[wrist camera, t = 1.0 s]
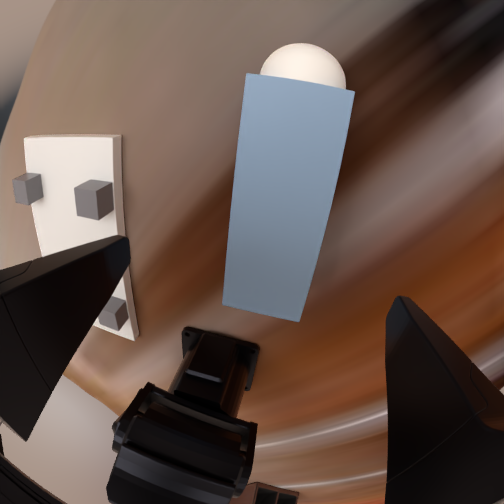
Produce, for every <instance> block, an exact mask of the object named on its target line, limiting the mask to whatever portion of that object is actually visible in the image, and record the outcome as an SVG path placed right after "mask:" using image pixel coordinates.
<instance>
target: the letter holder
mask: <svg viewBox="0 0 504 504" xmlns="http://www.w3.org/2000/svg"><path fill="white" fill-rule="evenodd" d="M298 496H299V492H295V491H290V490H286V489H282V488H278V487H274V486H271V485H267V484H263V483H260V482H256V483H252V484H248V485H246V487H245V489H244V491H243V492H242V494H241V495H240V496H239V497H238V498H233V497H232V498H231V501H230V503H229V504H297V501H298Z"/></svg>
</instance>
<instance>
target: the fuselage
mask: <svg viewBox="0 0 504 504" xmlns="http://www.w3.org/2000/svg"><path fill="white" fill-rule="evenodd" d="M354 93H355V92H354V91H350V90H346V80H345V75H344V72H343V70H342V68H341V66H340V64H339V63H338V61H337V60H336V59H335V58H334V57H333V56H332V55H331V54H330V53H329V52H327V51H326V50H324V49H322V48H320V47H318V46H315V45H311V44H305V43H296V44H290V45H286V46H284V47H281V48H279V49H278V50H276V51H275V52H273V53H272V54H271V55H270V56H269V57H268V58H267V60H266V61H265V63H264V64H263V66H262V69H261V72H260V75H258V74H248V73H247V74H246V81H245V89H244V97H243V105H242V113H241V122H240V130H239V139H238V147H237V156H236V165H235V174H234V184H233V193H232V203H231V213H230V223H229V234H228V244H227V255H226V266H225V278H224V290H223V302H222V305H225V306H229V307H233V308H237V309H241V310H246V311H250V312H254V313H259V314H263V315H268V316H272V317H277V318H281V319H286V320H291V321H296V322H299V321H300V318H301V315H302V311H303V308H304V305H305V301H306V298H307V295H308V291H309V288H310V284H311V281H312V277H313V274H314V270H315V267H316V263H317V259H318V256H319V252H320V248H321V244H322V241H323V237H324V233H325V229H326V225H327V221H328V217H329V213H330V209H331V205H332V201H333V196H334V192H335V188H336V183H337V179H338V175H339V170H340V165H341V161H342V156H343V151H344V146H345V142H346V137H347V132H348V126H349V121H350V116H351V110H352V105H353V99H354Z"/></svg>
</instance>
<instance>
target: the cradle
mask: <svg viewBox="0 0 504 504" xmlns="http://www.w3.org/2000/svg"><path fill="white" fill-rule="evenodd" d="M121 143H122V135H109V134H53V135H32V136H29V137H26V138H24V147H25V159H26V169H27V173H25V174H23V175H21V176H19V177H17V178H15V179H13V180H12V182H13V188H14V195H15V201H16V203H20V204H24V205H30V204H31V205H32V211H33V216H34V222H35V227H36V231H37V236H38V240H39V245H40V249H41V253H42V257H44V256H47V255H50V254H53V253H56V252H59V251H63V250H66V249H69V248H73V247H76V246H79V245H83V244H86V243H89V242H93V241H96V240H100V239H103V238H107V237H110V236H114V235H122V236H125V224H124V210H123V192H122V152H121ZM93 325H94V326H96V327H99V328H101V329H104V330H106V331H109V332H111V333H114V334H117V335H119V336H122V337H125V338H127V339H130V340H133V341H135V340H136V338H137V337H138V335H139V330H138V324H137V319H136V313H135V307H134V301H133V294H132V287H131V280H130V272H129V266H128V267H127V269H126V271H125V273H124V275H123V276H122V278H121V280H120V282H119V284H118V285H117V287H116V289H115V291H114V293H113V294H112V296H111V298H110V299H109V301H108V303H107V304H106V305H105V307H104V308H103V310H102V311H101V313H100V314H99V316H98V317H97V319H96V321H95V322H94V324H93Z"/></svg>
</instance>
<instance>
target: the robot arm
mask: <svg viewBox="0 0 504 504" xmlns="http://www.w3.org/2000/svg"><path fill="white" fill-rule="evenodd" d="M130 259H131V256H130V246H129V239H128V238H127V237H126V236H122V235H114V236H110V237H107V238H103V239H100V240H96V241H93V242H89V243H86V244H83V245H79V246H76V247H73V248H69V249H66V250H63V251H59V252H56V253H53V254H50V255H47V256H44V257H40V258H37V259H34V260H33V261H32V260H31V261H28V262H25V263H22V264H19V265H16V266H12V267H9V268H6V269H2V270H0V426H1V424H2V423H3V424H5V425H6V426H7V427H8V428H9V429H10V430H12V431H13V432H14V433H16V434H17V435H18V436H19V437H20V438H22V439H23V440H24V441H25V442H26V441H27V440H28V438H29V436H30V434H31V432H32V430H33V428H34V426H35V424H36V422H37V420H38V418H39V416H40V414H41V412H42V411H43V408H44V407H45V405H46V403H47V401H48V399H49V397H50V395H51V394H52V391H53V390H54V388H55V386H56V385H57V383H58V381H59V379H60V378H61V376H62V374H63V372H64V371H65V369H66V367H67V366H68V364H69V362H70V360H71V359H72V357H73V355H74V354H75V352H76V351H77V349H78V347H79V346H80V344H81V342H82V341H83V339H84V338H85V336H86V335H87V333H88V331H89V330H90V328H91V327H92V325H93V324H94V322H95V321H96V319H97V317H98V316H99V314H100V313H101V311H102V310H103V308H104V307H105V305H106V304H107V303H108V301H109V299H110V298H111V296H112V294H113V293H114V291H115V289H116V287H117V285H118V284H119V282H120V280H121V278H122V276H123V275H124V273H125V271H126V269H127V267H128V266H129V264H130ZM182 348H183V361H182V363H181V365H180V367H179V369H178V371H177V373H176V375H175V377H174V379H173V381H172V383H171V385H170V387H169V389H168V392H167V391H165V390H163V389H160V388H158V387H156V386H155V385H154V384H152V383H150V382H148V383H147V384H146V385H145V387H144V388H143V389H142V388H141V389H139V391H138V393H137V395H136V397H135V398H134V400H133V401H132V402H131V404H130V405H129V407H128V408H127V409H126V410H125V411H124V412H123V414H122V415H121V416H120V417H119V418H118V419H117V420H116V421H115V422H114V423H113V425H112V429H113V432H114V440H113V445H112V450H113V451H114V452H116V453H118V455H117V457H116V460H115V463H114V466H113V469H112V472H111V475H110V478H109V482H108V484H107V487H106V490H107V496H108V500H109V502H110V503H112V504H229V503H230V501H231V498H232V497H233V498H238V497H239V496H240V495H241V494H242V492H243V491H244V489H245V487H246V485H247V482H248V480H249V477H250V474H251V470H252V466H253V459H254V451H255V443H256V434H257V426H258V424H257V423H254V422H247V421H244V420H241V419H238V418H236V417H237V414H238V410H239V407H240V403H241V400H242V397H243V393H244V391H249V390H250V389H251V385H252V380H253V376H254V371H255V367H256V363H257V358H258V354H259V347H258V346H257V345H255V344H252V343H248V342H243V341H239V340H235V339H231V338H227V337H223V336H219V335H215V334H212V333H208V332H204V331H200V330H197V329H193V328H190V327H185V328H184V329H183V331H182ZM385 367H386V383H387V405H388V461H387V483H386V494H385V504H504V395H503V394H502V393H501V392H500V391H499V390H498V389H497V388H496V386H495V385H494V384H493V383H492V382H491V381H490V380H489V379H488V378H487V377H486V376H485V375H484V374H483V373H482V372H481V371H480V370H479V369H478V367H477V366H476V365H475V364H474V363H472V361H471V360H470V359H469V358H468V357H467V355H466V354H465V353H464V352H463V351H462V350H461V349H460V348H459V347H458V346H457V345H456V344H455V343H454V342H453V341H452V340H451V339H450V338H449V337H448V336H447V335H446V333H445V332H444V331H443V330H442V329H441V328H440V327H439V326H438V325H437V324H436V323H435V322H434V321H433V320H432V319H431V318H430V317H429V316H428V315H427V314H426V313H425V312H424V311H423V310H422V309H421V308H419V307H418V306H417V305H416V304H415V303H414V302H413V301H412V300H411V299H410V298H409V297H405V296H397V297H396V298H395V300H394V302H393V304H392V306H391V308H390V310H389V312H388V315H387V318H386V347H385ZM0 504H67V503H65V502H64V501H62V500H61V499H59V498H58V497H56V496H55V495H53V494H52V493H50V492H49V491H47V490H46V489H44V488H43V487H42V486H40V485H39V484H37V483H36V482H35V481H34V480H32V479H31V478H30V477H28V476H27V475H26V474H25V473H23V472H22V471H21V470H20V469H18V468H17V467H16V466H15V465H14V464H12V463H11V462H10V461H9V460H8V459H7V458H5V457H4V452H3V446H2V439H1V434H0Z"/></svg>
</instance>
